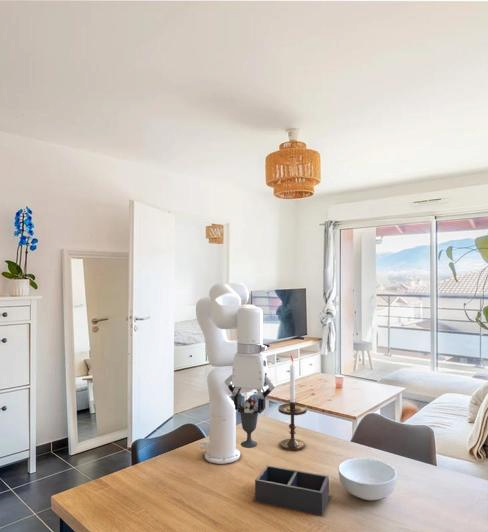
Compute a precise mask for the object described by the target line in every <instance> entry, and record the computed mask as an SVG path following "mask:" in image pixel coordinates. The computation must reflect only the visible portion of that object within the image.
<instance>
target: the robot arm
mask: <svg viewBox="0 0 488 532" xmlns="http://www.w3.org/2000/svg"><path fill="white" fill-rule="evenodd" d="M248 301H249V290H248V287H247V286H246V284H244V283H243V282H219V283H215V284H213V285H212V286H211V287H210V289H209V292H208V297H203V298H200V299H199V300H197V302H196V304H195V317H196V321H197V323H198V325H199V327H200V329H201V331H202V334H203V339H204V344H205V350H206V356H207V362H208V363H209V365H210V366H211V367H215V368H213V369H211V370H210V371H209V372H208V374H207V377H206V384H207V391H208V400H209V401H208V403H209V417H208V418H209V430H208V431H209V433H208V435H209V436H208V437H209V440H208V441H207V440H201V441H200V442H199V443H200V445H199V448H200V449H202V450H205V453H204V458H205V460H206V461H207V462H209V463H212V464H215V465H216V464H217V465H224V464H225V465H226V464H231V463H234V462H236V461H238V460H239V459H240V458H241V451H240V450H239V449H238V448H237V411H238V409H239V408H240V406H239V404H240V405H241V406H242V394H245V393H249V392H252V391H254V390H256V393H257V394H258V396H259V398H258V399H257V405H258V412H259V413H258V414H261V413H263V412H264V411H265V410H266V397H267V396H268V395H270V394H271V393H272V391H274V389H275V388H276V386H277V385H276V384H275V383H274V381H272V379H271V378H270V377H269V369H268V362H267V356H266V353H265V352H267V350H268V346H267V345H264V343H263V318H264V317H263V316H264V315H263V309H262V308H261V307H259V306H256V305H255V304H248ZM226 330H236V340H235V339H234V340H229V339H228V337H227V333H226ZM264 351H265V352H264ZM267 386H268V387H267ZM265 387H267V389H265ZM231 395H232V396H233V399H232V398H231V397H230V396H231Z"/></svg>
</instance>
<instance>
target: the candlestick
mask: <svg viewBox="0 0 488 532" xmlns="http://www.w3.org/2000/svg"><path fill="white" fill-rule="evenodd" d="M290 361H291V365H289V399H288V400H287V402H288V403H283V404H280V405H279V406H278V407H277V408H278V412H279V413H280V414H282V415H286V416H290V423H289V425H288V428H289V429H290V431H288V432H289V434H290V438H287V439H283V440H281V442H280V448H282V449H283V450H285V451H288V452H289V451H290V452H299V451H302V450H304V448H305V442H304V441H303V440H301V439H297V438H295V435H296V433H297V432H296V431H295V430H296V428H297V425H296V424H295V416H302V415H305V414H307V413H308V412H307V411H308V408H307V406H305V405H303V404H300V403H298V400H297V399H296V365H295V364H294V357H293V355H292V354H290Z"/></svg>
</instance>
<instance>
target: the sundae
mask: <svg viewBox="0 0 488 532" xmlns="http://www.w3.org/2000/svg"><path fill="white" fill-rule="evenodd" d="M256 394H257V391H254V392H253V394H252V395H251V397H248V398H247V399H246V400H244V402H243V403H242V404H241V405H240V404H239V406H240V408H239V409H238V410H237V413H239V415H240V422H241V427H242V429H243V430H244V432H245V433H246V439H245V440H244V441H242V442H240V446H241V447H242V448H245V449H254V448H256V447H258V443H257V441H255V440H252V433H253V432H254V431H255V430H256V428H257V425H258V416H259V414H260V413H259V412H258V403H257V400H256V399H255V397H256V396H255V395H256ZM252 397H253V399H252Z"/></svg>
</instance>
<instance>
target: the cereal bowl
mask: <svg viewBox="0 0 488 532" xmlns="http://www.w3.org/2000/svg"><path fill="white" fill-rule="evenodd" d="M397 476H398V475H397V471H396V469H395V468H394V467H393V466H391V464H389V463H387V462H384V461H382V460H379V459H375V458H370V457H369V458H368V457H352V458H348V459H345V460H344V461H342V462H341V463H340V464H339V466H338V478H339V482H340V484H341V486H342V487H343V488H344V490H345V491H346V492H348V493H349V494H351V496H352V495H353V497H354V496H355V497H357V498H359V499H361V500H364V501H378V500H380V499H384V498H387V497H388V496H390V495H391V494H392V493H393V492H394V491H395V489H396V487H397V483H398V482H397V481H398V477H397Z"/></svg>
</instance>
